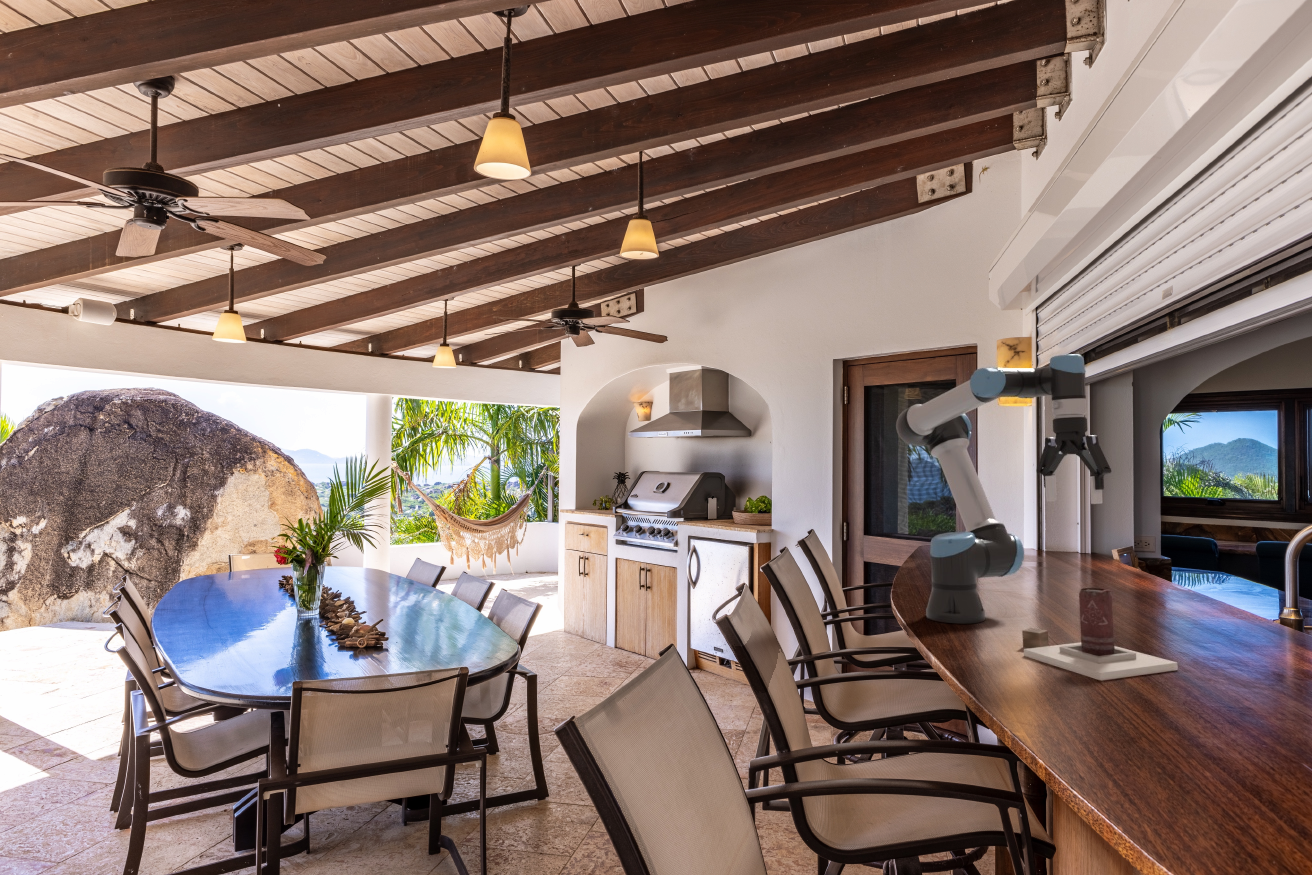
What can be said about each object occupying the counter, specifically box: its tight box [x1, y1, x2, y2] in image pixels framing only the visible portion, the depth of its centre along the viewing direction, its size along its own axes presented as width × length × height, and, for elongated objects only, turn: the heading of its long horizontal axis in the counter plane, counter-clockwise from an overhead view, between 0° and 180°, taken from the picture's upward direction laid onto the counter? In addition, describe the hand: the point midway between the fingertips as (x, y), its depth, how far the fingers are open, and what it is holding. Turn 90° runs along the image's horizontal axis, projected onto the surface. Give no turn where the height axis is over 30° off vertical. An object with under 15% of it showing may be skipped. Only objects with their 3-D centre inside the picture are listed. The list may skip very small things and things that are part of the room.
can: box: [1078, 587, 1115, 656], centre depth 159 cm, size 6×6×14 cm
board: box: [1023, 641, 1178, 681], centre depth 158 cm, size 20×20×3 cm
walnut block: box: [1021, 627, 1050, 649], centre depth 172 cm, size 4×4×4 cm
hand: (1073, 502), depth 183 cm, fingers open, 13 cm apart
